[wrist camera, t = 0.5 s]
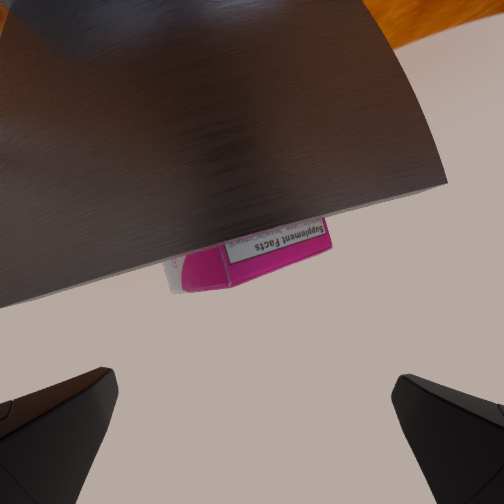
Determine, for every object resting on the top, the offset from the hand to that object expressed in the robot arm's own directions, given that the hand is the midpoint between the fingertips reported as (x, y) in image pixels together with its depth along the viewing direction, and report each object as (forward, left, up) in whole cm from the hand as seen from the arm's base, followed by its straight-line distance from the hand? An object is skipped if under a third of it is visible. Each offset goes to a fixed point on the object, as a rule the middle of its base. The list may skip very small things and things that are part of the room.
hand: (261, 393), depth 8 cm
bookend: (-6, 0, -14) cm, 15 cm away
